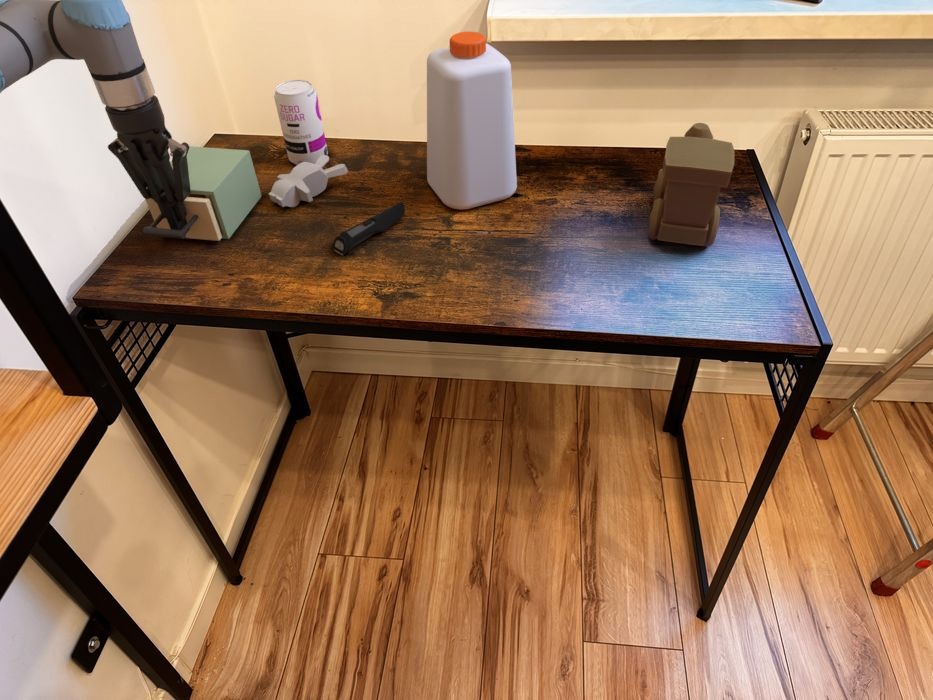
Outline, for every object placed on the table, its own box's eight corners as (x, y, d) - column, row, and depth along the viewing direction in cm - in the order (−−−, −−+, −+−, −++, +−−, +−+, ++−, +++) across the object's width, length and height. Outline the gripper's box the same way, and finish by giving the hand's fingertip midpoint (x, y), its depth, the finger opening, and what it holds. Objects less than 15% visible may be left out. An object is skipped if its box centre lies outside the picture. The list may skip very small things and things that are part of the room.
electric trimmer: (411, 220, 122) (409, 205, 120) (345, 257, 114) (342, 242, 112) (397, 212, 124) (395, 197, 122) (331, 249, 116) (328, 233, 114)
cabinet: (228, 239, 119) (213, 191, 112) (164, 233, 121) (145, 186, 114) (261, 196, 129) (249, 150, 123) (202, 191, 131) (186, 145, 125)
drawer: (202, 262, 113) (188, 222, 107) (141, 256, 115) (124, 217, 109) (251, 200, 127) (240, 162, 121) (196, 195, 128) (182, 158, 123)
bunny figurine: (256, 181, 125) (318, 143, 132) (265, 203, 129) (324, 165, 136) (286, 198, 121) (348, 158, 127) (295, 221, 125) (355, 181, 131)
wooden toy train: (713, 262, 110) (738, 171, 99) (642, 252, 113) (659, 163, 101) (715, 199, 124) (738, 113, 112) (652, 192, 126) (668, 106, 115)
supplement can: (324, 145, 143) (311, 75, 133) (331, 163, 138) (318, 91, 127) (286, 152, 142) (270, 82, 131) (291, 170, 136) (275, 98, 126)
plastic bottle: (490, 162, 136) (490, 16, 117) (524, 197, 126) (529, 43, 107) (421, 179, 132) (408, 30, 113) (450, 216, 122) (442, 61, 103)
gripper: (182, 91, 101) (226, 224, 117) (105, 87, 103) (159, 218, 119) (156, 113, 95) (206, 249, 112) (76, 108, 98) (136, 242, 114)
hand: (181, 233), depth 116 cm, fingers closed
